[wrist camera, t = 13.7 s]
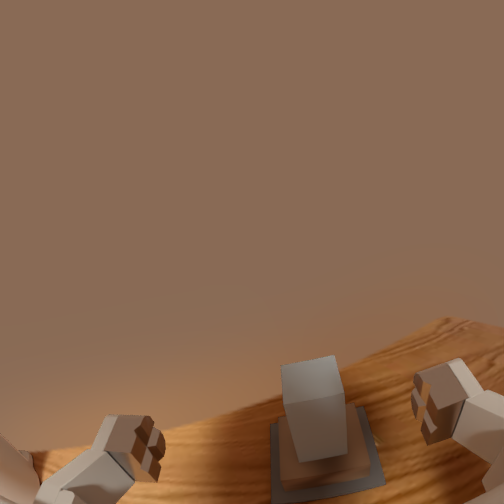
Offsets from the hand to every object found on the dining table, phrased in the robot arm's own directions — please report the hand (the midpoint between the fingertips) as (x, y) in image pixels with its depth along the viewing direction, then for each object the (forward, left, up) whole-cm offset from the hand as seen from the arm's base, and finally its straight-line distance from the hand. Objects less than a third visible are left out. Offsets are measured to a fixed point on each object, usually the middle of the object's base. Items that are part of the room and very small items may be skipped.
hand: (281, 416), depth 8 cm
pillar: (+1, +14, -22) cm, 26 cm away
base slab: (+1, +14, -25) cm, 29 cm away
